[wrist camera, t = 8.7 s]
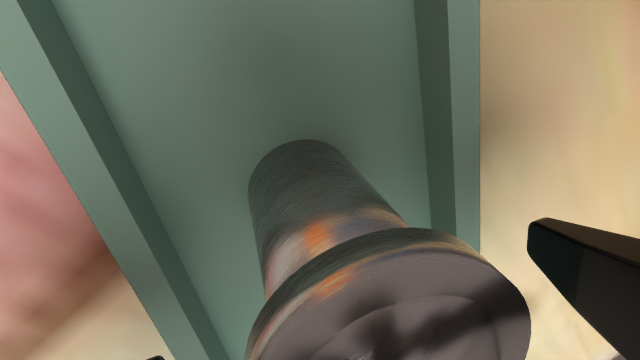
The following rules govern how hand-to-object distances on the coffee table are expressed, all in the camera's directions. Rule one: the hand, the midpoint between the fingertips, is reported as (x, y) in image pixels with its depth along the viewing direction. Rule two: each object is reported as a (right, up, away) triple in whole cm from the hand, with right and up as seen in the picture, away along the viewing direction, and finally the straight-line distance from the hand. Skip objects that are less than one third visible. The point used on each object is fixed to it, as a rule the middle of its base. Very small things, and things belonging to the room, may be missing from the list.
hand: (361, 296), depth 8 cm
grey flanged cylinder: (-2, +2, +5) cm, 6 cm away
